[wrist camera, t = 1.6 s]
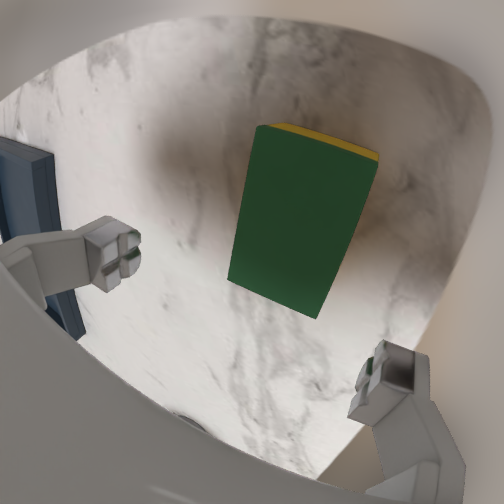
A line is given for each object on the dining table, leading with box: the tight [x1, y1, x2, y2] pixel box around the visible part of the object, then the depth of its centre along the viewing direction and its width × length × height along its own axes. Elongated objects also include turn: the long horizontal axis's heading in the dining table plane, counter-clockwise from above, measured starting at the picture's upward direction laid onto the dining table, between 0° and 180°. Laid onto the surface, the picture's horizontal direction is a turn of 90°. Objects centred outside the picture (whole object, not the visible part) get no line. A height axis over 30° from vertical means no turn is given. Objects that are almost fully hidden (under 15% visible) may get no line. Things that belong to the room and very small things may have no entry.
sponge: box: [227, 123, 379, 319], centre depth 12 cm, size 7×4×3 cm, turn 168°
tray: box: [0, 137, 86, 341], centre depth 28 cm, size 24×18×2 cm
